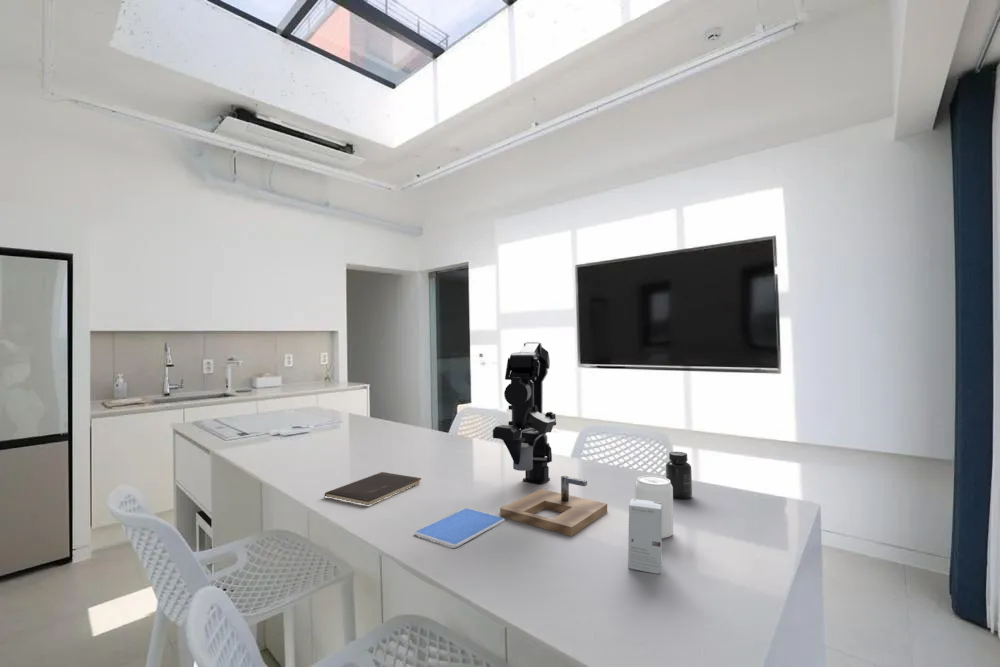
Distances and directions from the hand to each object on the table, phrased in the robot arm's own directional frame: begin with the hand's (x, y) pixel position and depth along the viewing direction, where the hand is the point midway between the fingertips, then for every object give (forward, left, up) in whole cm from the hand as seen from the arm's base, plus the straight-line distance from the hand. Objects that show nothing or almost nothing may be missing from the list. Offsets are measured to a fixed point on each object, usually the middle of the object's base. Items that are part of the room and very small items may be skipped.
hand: (522, 462), depth 119 cm
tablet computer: (-5, -18, -13) cm, 23 cm away
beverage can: (+32, +6, -13) cm, 35 cm away
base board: (+8, +3, -12) cm, 15 cm away
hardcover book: (-43, -13, -13) cm, 47 cm away
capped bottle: (0, 0, -2) cm, 2 cm away
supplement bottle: (+29, +36, -13) cm, 48 cm away
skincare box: (+36, -11, -13) cm, 39 cm away
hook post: (+10, +8, -10) cm, 17 cm away
